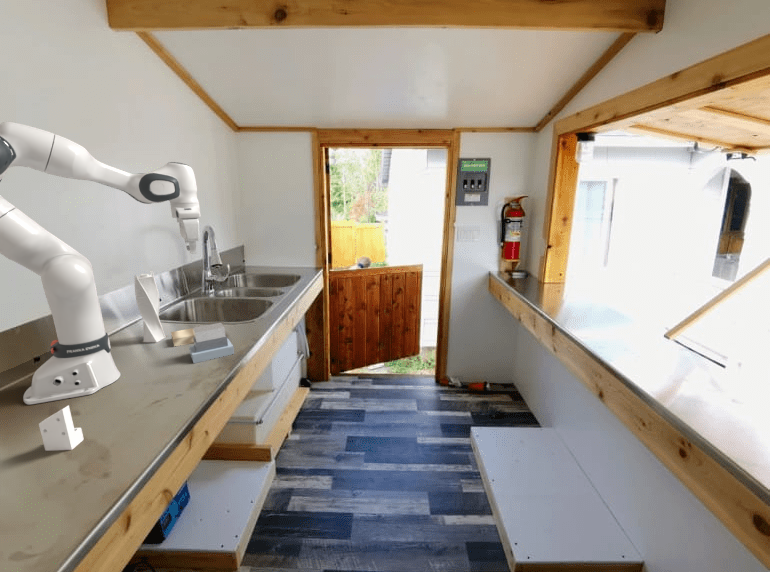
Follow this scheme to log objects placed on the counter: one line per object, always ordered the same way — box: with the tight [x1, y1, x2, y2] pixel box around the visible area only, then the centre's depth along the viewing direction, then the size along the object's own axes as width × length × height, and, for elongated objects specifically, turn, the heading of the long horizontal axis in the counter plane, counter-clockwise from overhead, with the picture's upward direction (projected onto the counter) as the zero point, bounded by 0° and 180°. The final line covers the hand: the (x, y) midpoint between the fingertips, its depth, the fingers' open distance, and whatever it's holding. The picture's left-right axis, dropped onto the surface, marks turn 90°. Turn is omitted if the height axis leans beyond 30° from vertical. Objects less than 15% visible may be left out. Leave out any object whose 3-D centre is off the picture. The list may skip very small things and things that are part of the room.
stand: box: [188, 338, 235, 364], centre depth 135 cm, size 13×9×3 cm
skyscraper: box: [134, 269, 169, 344], centre depth 146 cm, size 8×8×28 cm
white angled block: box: [38, 404, 85, 452], centre depth 86 cm, size 4×10×9 cm
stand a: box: [170, 327, 194, 348], centre depth 149 cm, size 13×9×3 cm
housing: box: [192, 322, 228, 352], centre depth 134 cm, size 10×6×7 cm, turn 123°
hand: (191, 251), depth 135 cm, fingers open, 8 cm apart
